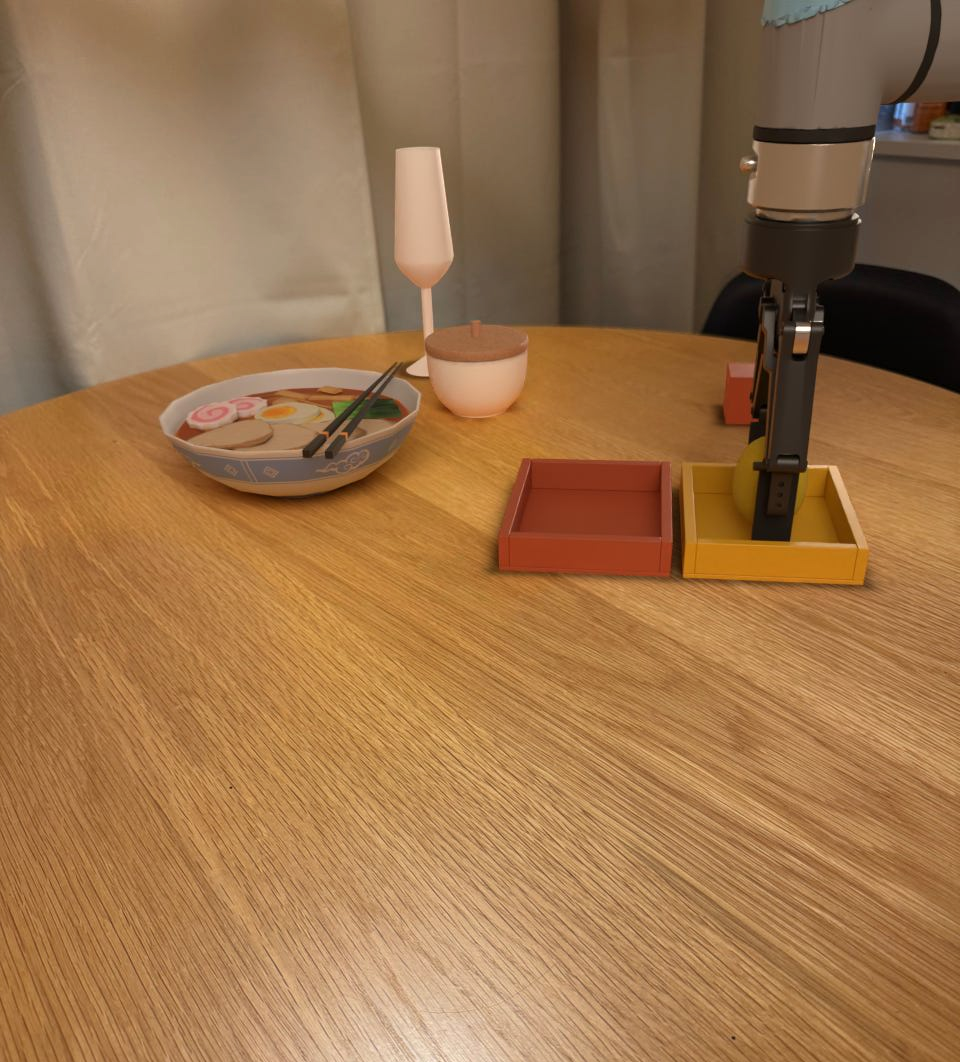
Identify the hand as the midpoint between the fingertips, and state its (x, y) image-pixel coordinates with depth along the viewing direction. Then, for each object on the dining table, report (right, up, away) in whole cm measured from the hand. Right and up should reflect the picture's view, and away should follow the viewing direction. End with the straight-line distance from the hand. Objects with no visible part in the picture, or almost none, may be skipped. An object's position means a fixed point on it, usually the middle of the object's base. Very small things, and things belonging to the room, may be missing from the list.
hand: (763, 523), depth 78 cm
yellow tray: (0, -1, +1) cm, 1 cm away
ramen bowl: (-38, +5, +13) cm, 41 cm away
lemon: (0, -1, 0) cm, 1 cm away
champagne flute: (-28, +23, +42) cm, 55 cm away
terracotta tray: (-13, 0, +3) cm, 14 cm away
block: (+5, +13, +24) cm, 28 cm away
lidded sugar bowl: (-22, +15, +29) cm, 40 cm away
